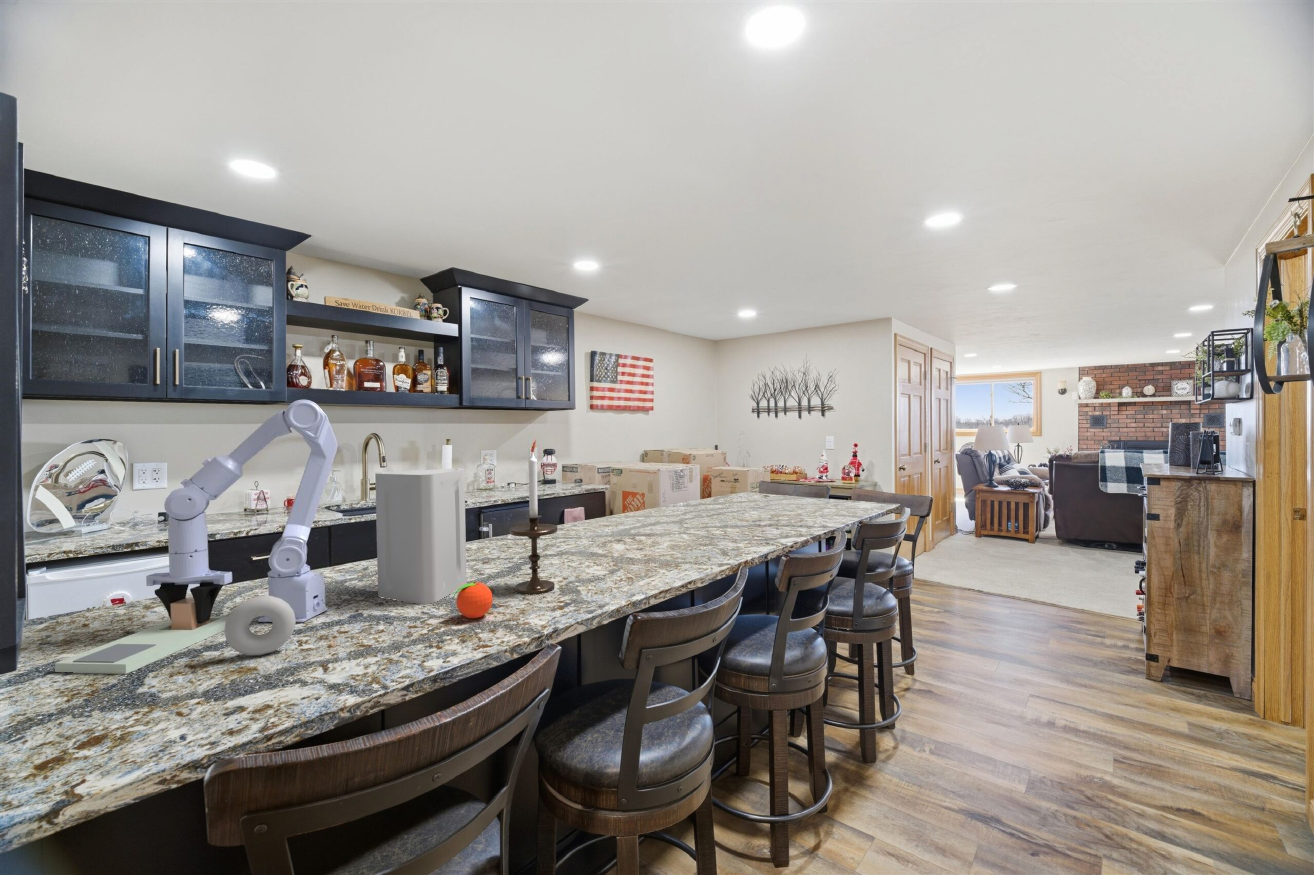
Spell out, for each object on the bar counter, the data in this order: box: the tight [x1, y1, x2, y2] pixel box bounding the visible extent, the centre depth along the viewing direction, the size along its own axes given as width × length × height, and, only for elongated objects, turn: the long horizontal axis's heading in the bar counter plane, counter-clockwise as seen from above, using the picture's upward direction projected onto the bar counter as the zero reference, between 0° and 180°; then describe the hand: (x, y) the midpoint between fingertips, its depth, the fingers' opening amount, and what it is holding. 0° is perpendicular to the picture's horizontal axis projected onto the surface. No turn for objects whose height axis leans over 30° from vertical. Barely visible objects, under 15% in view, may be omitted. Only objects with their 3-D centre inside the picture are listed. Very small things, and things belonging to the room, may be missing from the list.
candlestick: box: [509, 439, 559, 596], centre depth 132 cm, size 11×11×35 cm
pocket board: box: [54, 616, 228, 675], centre depth 100 cm, size 12×22×2 cm, turn 176°
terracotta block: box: [171, 596, 210, 630], centre depth 107 cm, size 4×4×6 cm
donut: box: [223, 595, 297, 657], centre depth 96 cm, size 10×4×10 cm, turn 118°
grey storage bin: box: [374, 467, 468, 605], centre depth 129 cm, size 19×15×28 cm
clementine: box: [451, 581, 494, 619], centre depth 113 cm, size 8×7×7 cm
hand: (190, 622), depth 107 cm, fingers closed on terracotta block, 4 cm apart
